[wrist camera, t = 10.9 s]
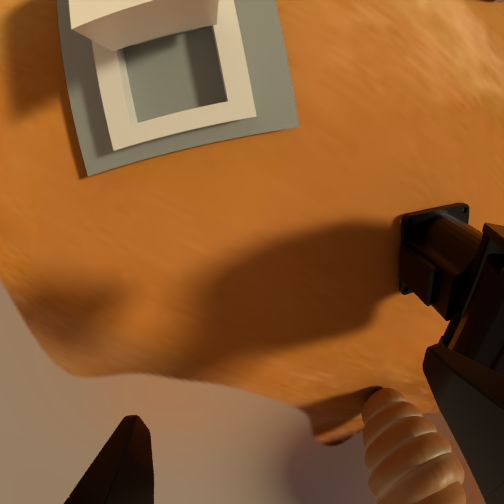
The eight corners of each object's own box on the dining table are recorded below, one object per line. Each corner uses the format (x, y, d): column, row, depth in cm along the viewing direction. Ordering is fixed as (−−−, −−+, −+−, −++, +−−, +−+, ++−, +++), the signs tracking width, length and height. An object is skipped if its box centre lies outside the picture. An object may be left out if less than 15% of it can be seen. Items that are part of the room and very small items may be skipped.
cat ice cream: (330, 423, 30) (381, 569, 14) (347, 375, 27) (424, 550, 10) (399, 408, 31) (461, 531, 15) (423, 360, 28) (511, 497, 11)
